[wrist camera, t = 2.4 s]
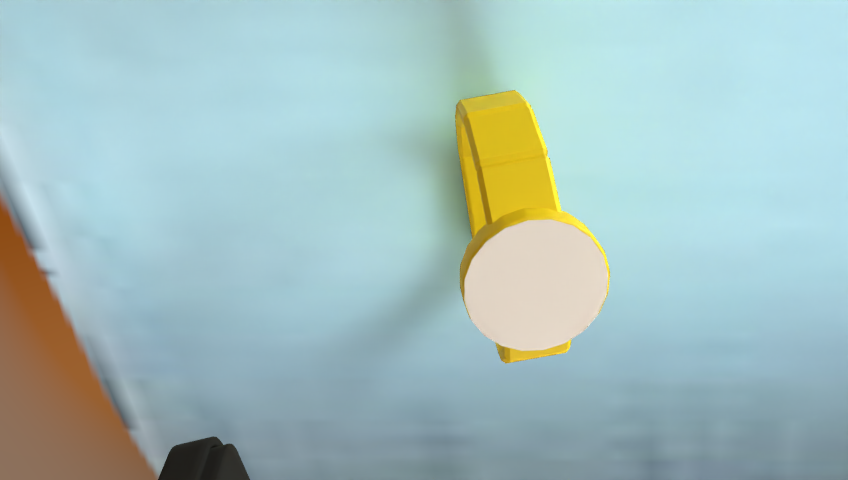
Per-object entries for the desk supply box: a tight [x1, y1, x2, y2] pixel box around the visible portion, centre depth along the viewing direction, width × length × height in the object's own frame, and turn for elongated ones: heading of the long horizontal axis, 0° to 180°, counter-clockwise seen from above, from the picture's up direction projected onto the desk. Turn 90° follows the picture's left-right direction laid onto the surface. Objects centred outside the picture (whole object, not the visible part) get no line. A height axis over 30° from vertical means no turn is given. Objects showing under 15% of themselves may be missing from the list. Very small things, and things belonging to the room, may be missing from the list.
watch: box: [455, 90, 610, 363], centre depth 15 cm, size 6×3×6 cm, turn 10°
